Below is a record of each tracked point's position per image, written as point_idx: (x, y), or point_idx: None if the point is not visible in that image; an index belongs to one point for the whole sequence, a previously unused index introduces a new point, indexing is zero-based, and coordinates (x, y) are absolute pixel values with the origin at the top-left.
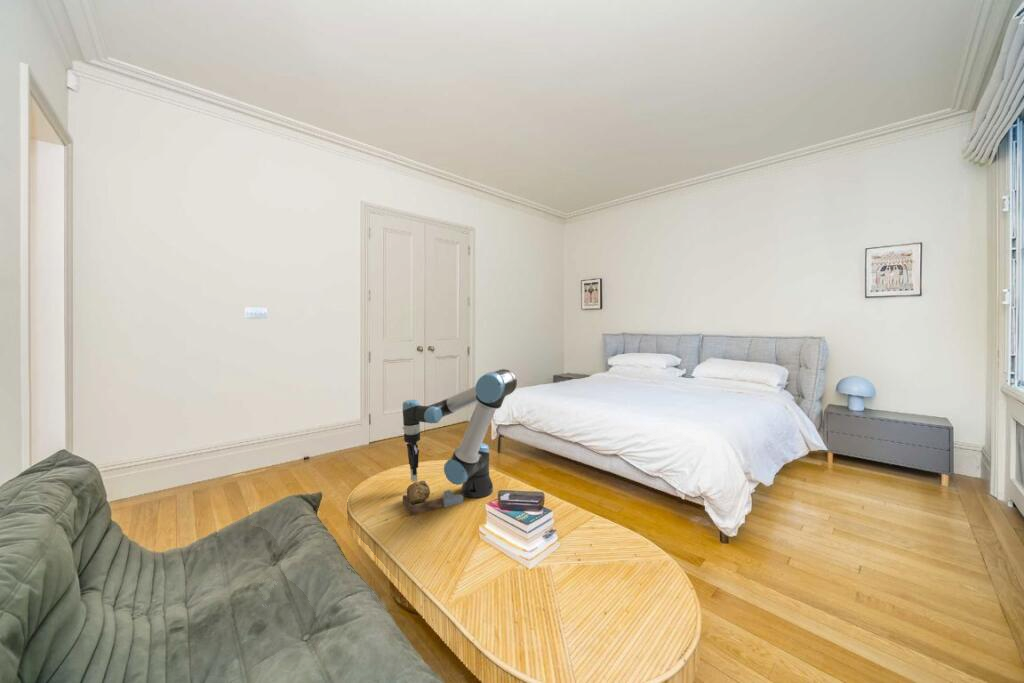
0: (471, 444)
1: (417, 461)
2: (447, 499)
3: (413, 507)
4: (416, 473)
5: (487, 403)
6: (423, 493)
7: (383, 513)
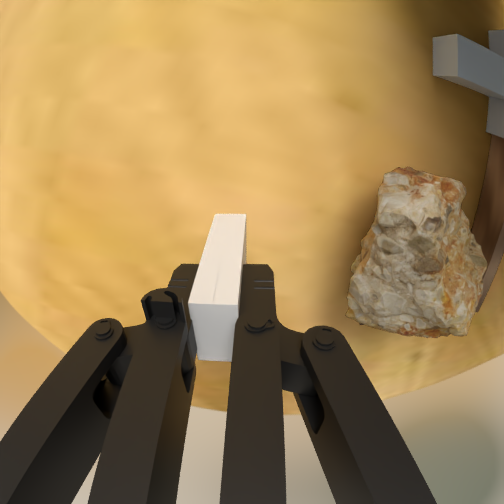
0: None
1: (390, 435)
2: None
3: (482, 296)
4: (241, 258)
5: None
6: (468, 240)
7: (372, 363)
